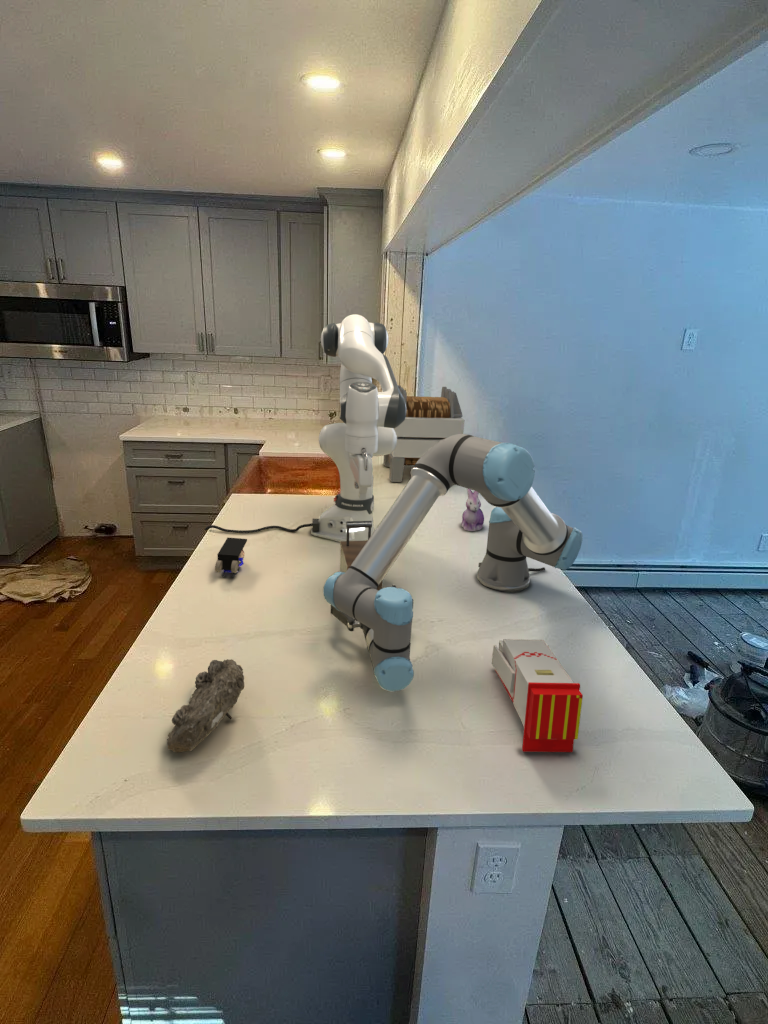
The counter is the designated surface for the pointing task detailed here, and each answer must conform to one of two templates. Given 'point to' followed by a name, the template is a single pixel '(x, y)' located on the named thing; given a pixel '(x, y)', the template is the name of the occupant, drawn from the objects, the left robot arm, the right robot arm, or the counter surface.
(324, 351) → the left robot arm
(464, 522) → the figurine
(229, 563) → the black wheeled rover
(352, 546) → the lid
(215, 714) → the fossil
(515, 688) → the toy
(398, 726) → the counter surface
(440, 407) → the transformer
